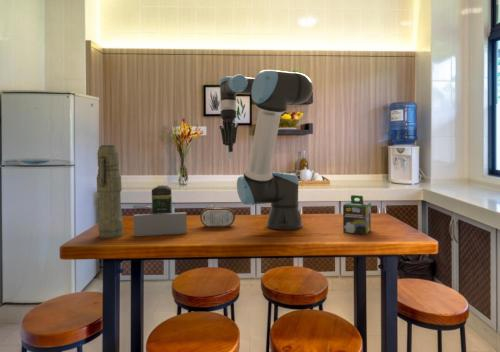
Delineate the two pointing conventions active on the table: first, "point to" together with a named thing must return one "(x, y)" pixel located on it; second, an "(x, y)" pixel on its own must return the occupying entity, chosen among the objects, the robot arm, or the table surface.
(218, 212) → the tin
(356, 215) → the chalk box
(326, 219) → the table surface
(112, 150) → the carved stone statue
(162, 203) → the coffee jar
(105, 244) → the table surface
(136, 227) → the board
